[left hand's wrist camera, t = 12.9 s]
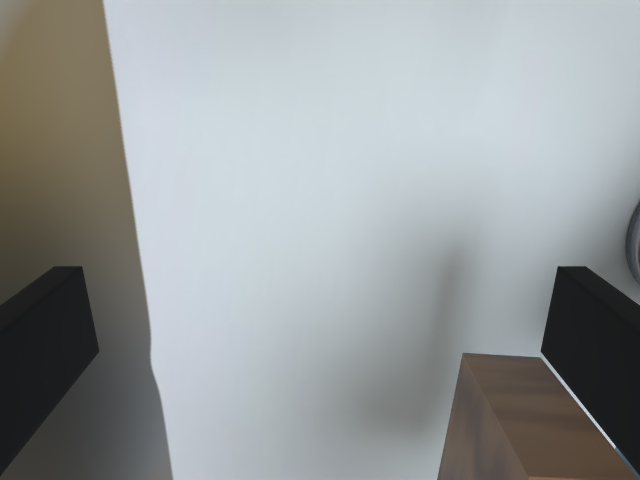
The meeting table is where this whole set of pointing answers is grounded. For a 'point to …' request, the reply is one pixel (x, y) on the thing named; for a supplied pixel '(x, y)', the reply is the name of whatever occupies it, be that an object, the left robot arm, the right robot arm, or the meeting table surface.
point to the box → (522, 427)
